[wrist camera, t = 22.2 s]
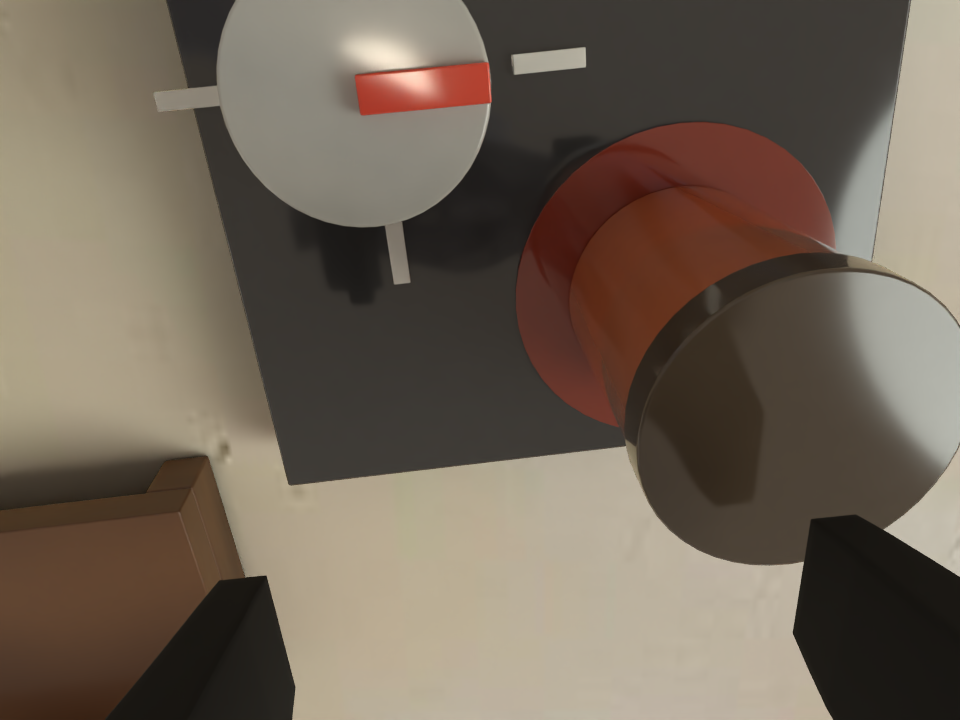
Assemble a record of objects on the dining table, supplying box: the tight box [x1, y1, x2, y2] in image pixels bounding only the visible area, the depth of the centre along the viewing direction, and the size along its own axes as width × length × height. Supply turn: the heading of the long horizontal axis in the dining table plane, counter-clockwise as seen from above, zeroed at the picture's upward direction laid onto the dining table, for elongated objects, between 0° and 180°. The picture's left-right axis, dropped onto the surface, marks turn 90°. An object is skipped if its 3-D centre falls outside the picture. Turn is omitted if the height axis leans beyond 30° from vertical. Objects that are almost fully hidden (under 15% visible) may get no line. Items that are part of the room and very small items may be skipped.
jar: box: [569, 186, 960, 565], centre depth 13 cm, size 5×5×6 cm
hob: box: [153, 0, 911, 485], centre depth 15 cm, size 13×15×2 cm
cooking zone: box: [515, 121, 836, 427], centre depth 16 cm, size 7×7×1 cm
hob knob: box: [216, 0, 492, 228], centre depth 12 cm, size 4×4×4 cm
